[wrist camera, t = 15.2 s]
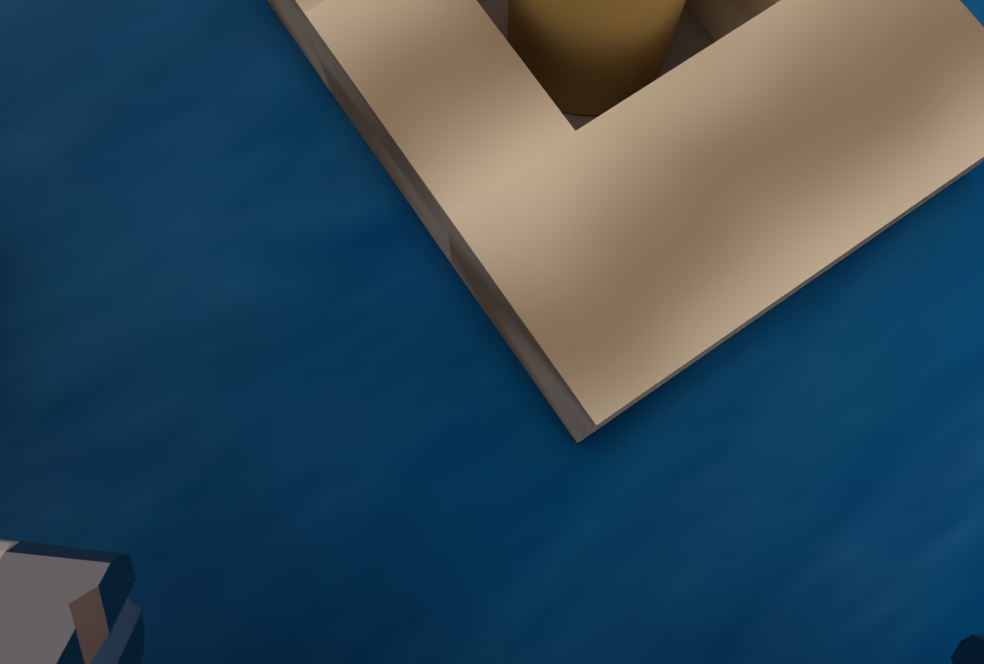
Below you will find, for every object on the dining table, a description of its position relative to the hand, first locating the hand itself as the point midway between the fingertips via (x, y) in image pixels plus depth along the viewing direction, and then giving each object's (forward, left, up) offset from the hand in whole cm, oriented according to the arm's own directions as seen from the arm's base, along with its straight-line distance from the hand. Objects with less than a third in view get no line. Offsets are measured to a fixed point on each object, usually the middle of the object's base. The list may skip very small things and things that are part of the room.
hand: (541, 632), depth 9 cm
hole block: (-10, +9, -12) cm, 18 cm away
